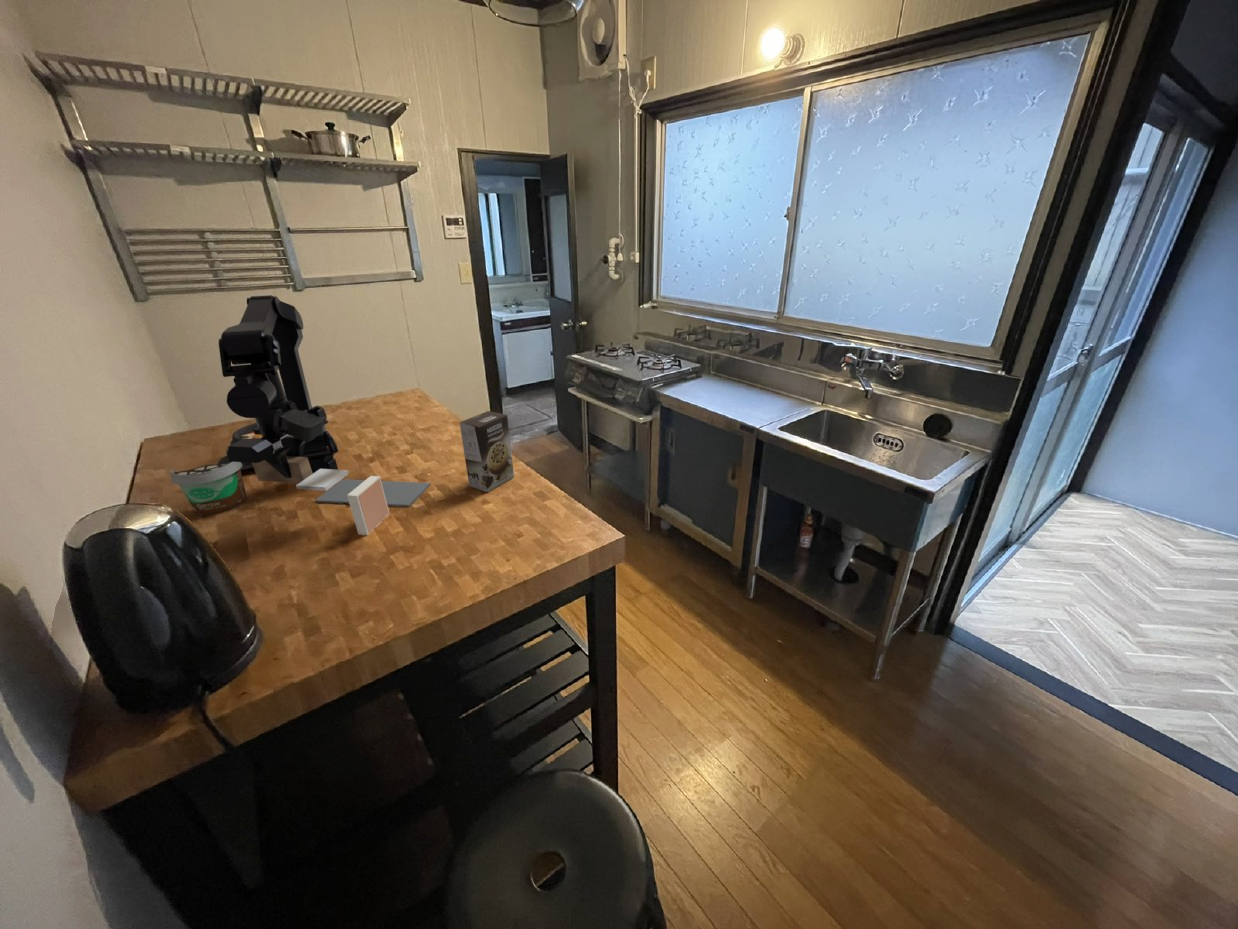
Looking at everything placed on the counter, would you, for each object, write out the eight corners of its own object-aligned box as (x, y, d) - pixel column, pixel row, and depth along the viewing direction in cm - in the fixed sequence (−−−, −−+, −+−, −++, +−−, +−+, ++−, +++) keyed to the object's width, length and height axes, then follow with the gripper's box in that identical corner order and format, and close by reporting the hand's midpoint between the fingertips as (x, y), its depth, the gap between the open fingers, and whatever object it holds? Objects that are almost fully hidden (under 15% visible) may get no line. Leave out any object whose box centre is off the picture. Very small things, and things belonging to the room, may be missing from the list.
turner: (249, 486, 95) (241, 465, 93) (276, 469, 101) (269, 450, 99) (326, 490, 93) (319, 470, 91) (348, 473, 100) (342, 453, 98)
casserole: (315, 434, 144) (307, 407, 140) (340, 452, 133) (332, 423, 129) (212, 463, 128) (199, 433, 124) (230, 485, 116) (217, 453, 113)
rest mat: (315, 502, 109) (315, 500, 108) (343, 480, 118) (342, 479, 117) (409, 506, 106) (409, 504, 106) (430, 484, 115) (430, 483, 115)
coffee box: (488, 493, 111) (478, 427, 104) (468, 486, 115) (457, 421, 107) (515, 477, 118) (508, 414, 111) (496, 471, 121) (487, 409, 114)
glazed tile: (358, 534, 97) (346, 495, 93) (380, 513, 104) (370, 475, 100) (368, 535, 97) (357, 495, 93) (389, 513, 104) (380, 476, 100)
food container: (180, 524, 101) (159, 481, 97) (187, 510, 106) (168, 469, 102) (251, 509, 106) (234, 468, 102) (255, 496, 111) (239, 456, 107)
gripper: (269, 420, 81) (298, 501, 88) (340, 385, 97) (359, 455, 104) (208, 417, 82) (241, 497, 89) (288, 383, 98) (311, 453, 106)
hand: (293, 474), depth 97 cm, fingers closed on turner, 3 cm apart
